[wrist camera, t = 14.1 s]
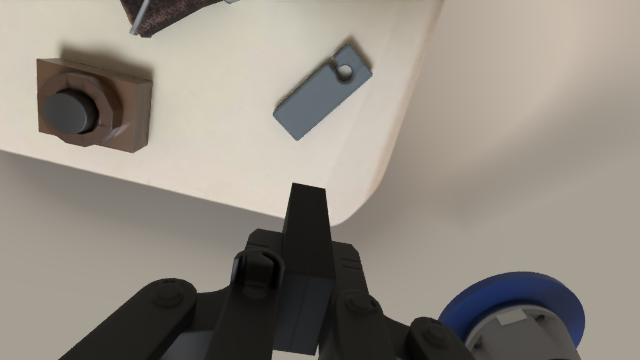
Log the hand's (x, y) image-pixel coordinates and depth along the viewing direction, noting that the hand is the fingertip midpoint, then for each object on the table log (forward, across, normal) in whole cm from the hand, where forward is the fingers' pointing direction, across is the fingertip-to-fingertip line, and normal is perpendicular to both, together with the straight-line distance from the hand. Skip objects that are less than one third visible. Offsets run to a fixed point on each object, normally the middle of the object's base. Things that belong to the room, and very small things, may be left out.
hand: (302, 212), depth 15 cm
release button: (+18, -21, -3) cm, 28 cm away
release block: (+23, -21, -3) cm, 31 cm away
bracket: (+23, +1, +3) cm, 23 cm away
